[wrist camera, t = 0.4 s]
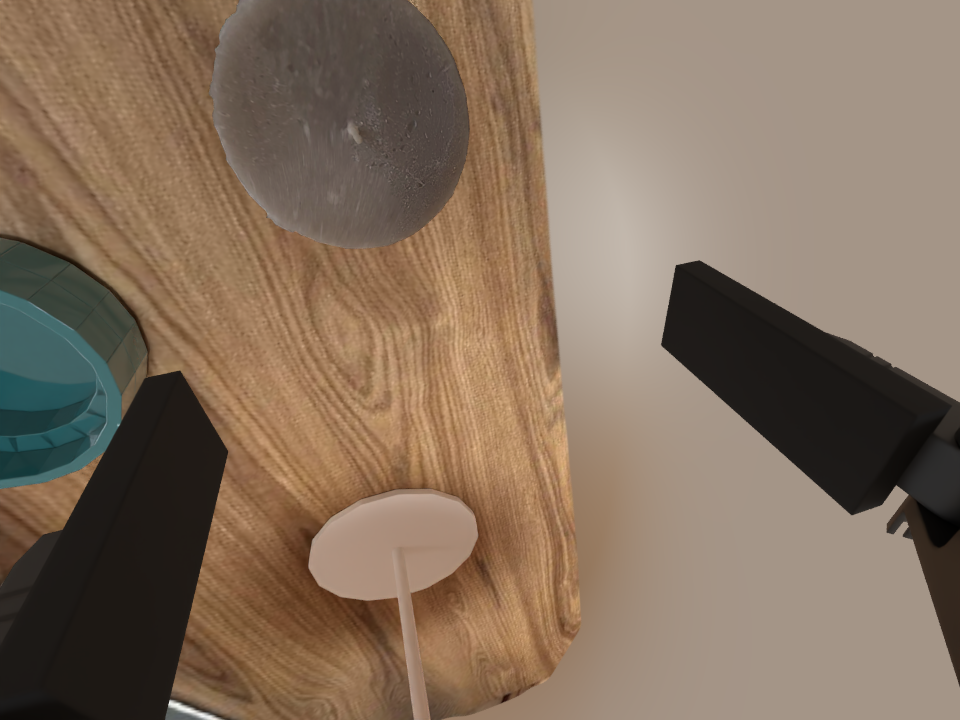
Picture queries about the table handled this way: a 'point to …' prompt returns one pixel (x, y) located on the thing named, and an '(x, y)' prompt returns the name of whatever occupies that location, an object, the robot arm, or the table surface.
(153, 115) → the table surface
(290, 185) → the pillar candle
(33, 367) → the bowl
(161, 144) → the table surface
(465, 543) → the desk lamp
